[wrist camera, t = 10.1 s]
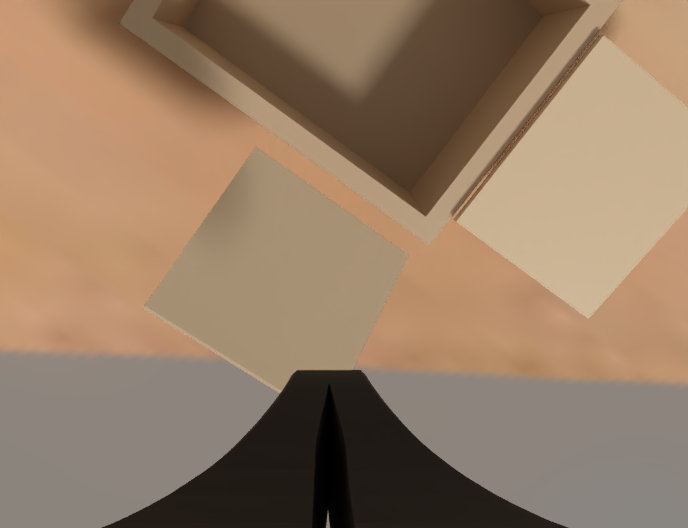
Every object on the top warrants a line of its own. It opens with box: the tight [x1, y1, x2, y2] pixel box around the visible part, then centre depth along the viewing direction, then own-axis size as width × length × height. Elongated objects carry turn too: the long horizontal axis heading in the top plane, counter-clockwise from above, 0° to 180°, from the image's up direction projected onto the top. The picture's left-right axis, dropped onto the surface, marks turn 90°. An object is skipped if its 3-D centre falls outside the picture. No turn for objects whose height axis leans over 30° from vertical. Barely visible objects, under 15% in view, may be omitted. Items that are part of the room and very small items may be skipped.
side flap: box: [143, 147, 409, 393], centre depth 16 cm, size 5×5×1 cm
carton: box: [119, 0, 688, 319], centre depth 18 cm, size 15×12×4 cm
